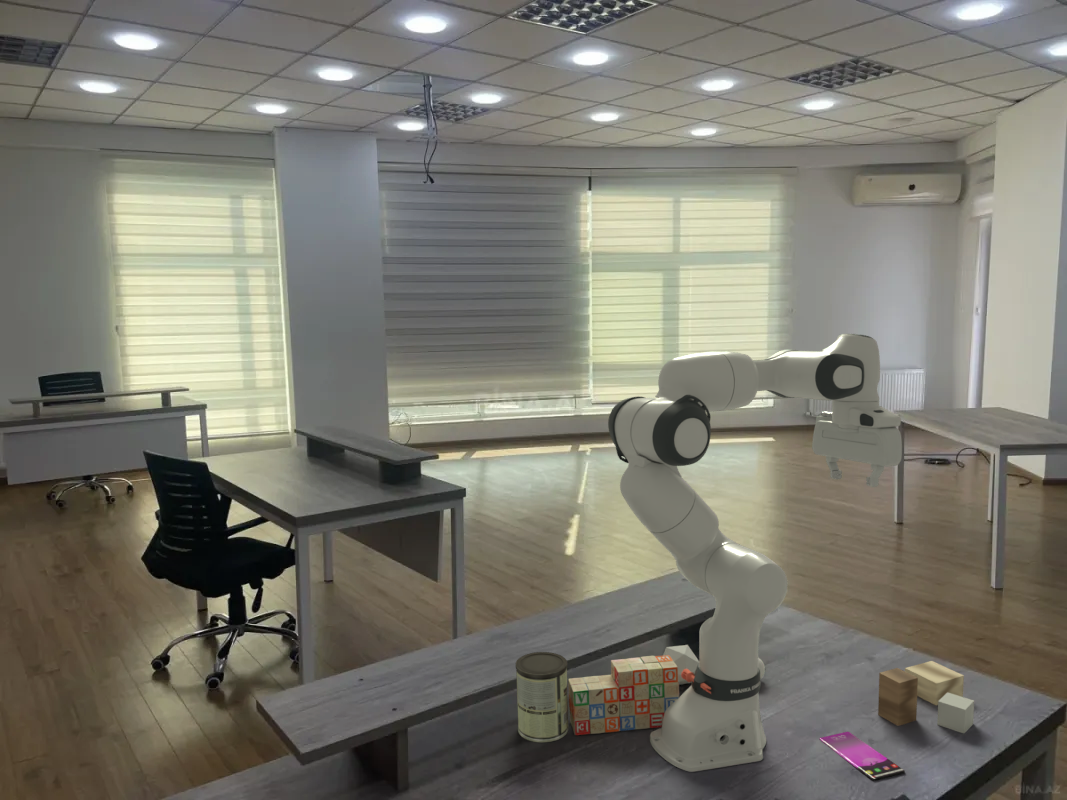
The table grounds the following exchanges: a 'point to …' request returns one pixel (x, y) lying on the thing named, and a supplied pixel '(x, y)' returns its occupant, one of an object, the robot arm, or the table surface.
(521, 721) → the coffee can
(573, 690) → the stack of blocks
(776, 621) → the table surface
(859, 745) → the smartphone
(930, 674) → the oak block
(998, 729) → the table surface
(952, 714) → the grey cube
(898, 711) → the walnut block
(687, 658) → the white polyhedron
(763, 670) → the white sphere
